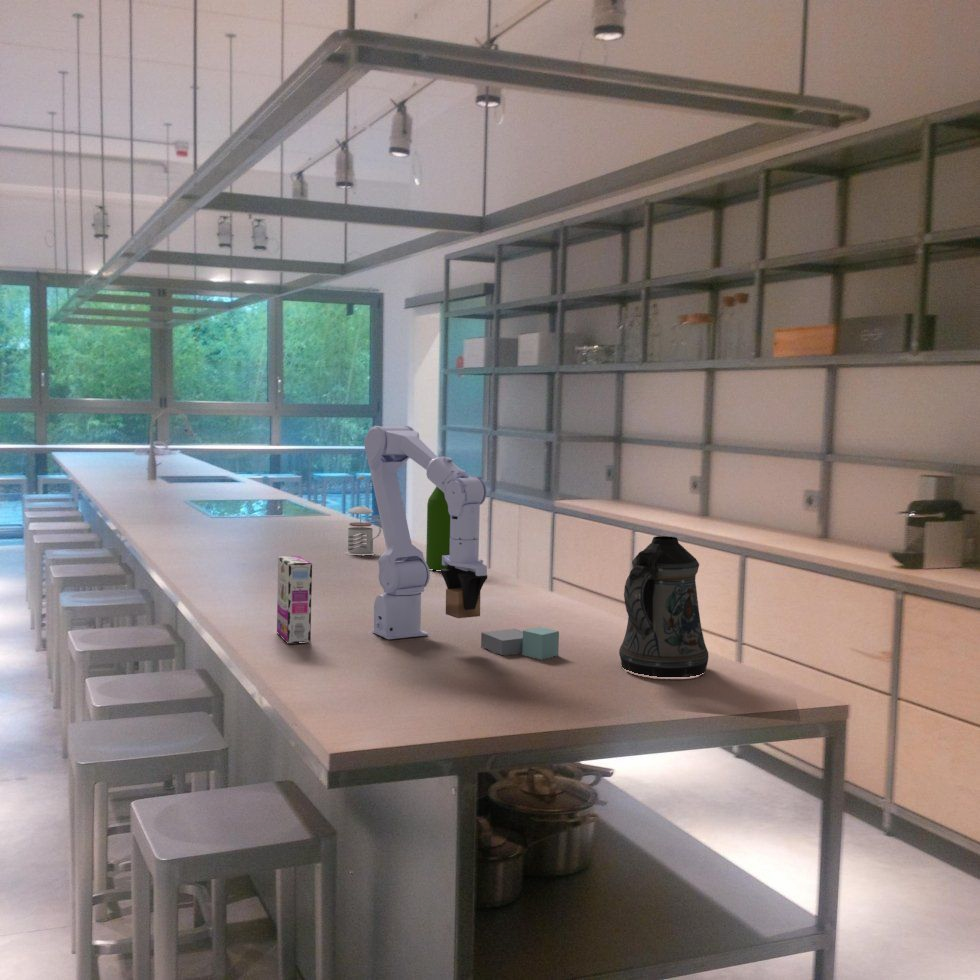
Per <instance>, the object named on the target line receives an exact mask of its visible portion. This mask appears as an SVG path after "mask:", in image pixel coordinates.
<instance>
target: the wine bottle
mask: <svg viewBox="0 0 980 980" xmlns="http://www.w3.org/2000/svg"><path fill="white" fill-rule="evenodd" d="M426 508H427V509H426V549H425V550H426V553H425V554H426V557H425V558H426V560H425V562H426V563H427V565H428V567H429V569H433V570H441V569H446V567H447V566H444V565H442V556H445V555H450V516H451V515H449V512H448V504H447V502H446V499H445V495H444V492H443V491H442V490H440V489H439V488H438V487H437V486H436V485H435V488H434V489H433V491H432V492H431V495H429V497H428V501H427V503H426Z"/></svg>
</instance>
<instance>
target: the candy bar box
mask: <svg viewBox="0 0 980 980" xmlns="http://www.w3.org/2000/svg"><path fill="white" fill-rule="evenodd" d="M312 587H313V563H312V562H311V561H309V560H308V559H305V558H303V557H302V556H301V555H299V556H298V555H289V556H288V555H284V556H278V557H277V601H276V603H277V606H276V609H277V610H276V633H277V632H278V633H279V634H280V635H281V636H282V637H283V638H284V639H285V640H286V641H287V642H288V643H299V642H310V643H311V639H312V638H311V635H312V633H311V628H312V593H313V591H312V590H313V588H312Z"/></svg>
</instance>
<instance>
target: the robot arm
mask: <svg viewBox="0 0 980 980" xmlns="http://www.w3.org/2000/svg"><path fill="white" fill-rule="evenodd" d="M363 445H364V451H365V454H366V459H367V465H368V467H369V471H370V472H369V473H370V476H371V477H370V478H371V480H372V481H371V482H372V487H373V491H374V495H375V500H376V505H377V510H378V514H379V520H380V522H381V524H380V525H382V528H381V530H382V532H383V533H382V534H383V538H384V542H385V547H386V550H385V551H384V552H382V555H381V556H380V557H379V558H378V560H377V563H378V567H379V568H378V582H379V585H380V587H381V588H382V590H383V592H384V593H383V594H379V595H377V596H376V597H375V598H374V599H375V600H374V603H373V604H374V606H373V608H374V609H373V629H372V632H371V633H374V634H375V635H378V636H380V637H382V638H384V639H386V640H396V639H398V640H399V639H405V638H415V637H423V636H424V637H425V636H429V633H428V631H424V630H421V627H422V626H421V625H422V624H421V623H422V621H421V619H422V617H421V615H422V593H424V592H425V588H426V587H427V586H428V584H429V582H430V580H431V579H430V578H431V571H430V570H429V567H428V565H427V563H426V560H425V557H424V553H423V551H422V550H421V549H419V548H418V547H416V546H415V545H414V544H413V543H412V539H411V538H412V537H411V533H410V529H409V525H408V520H407V516H406V510H405V507H404V503H403V498H402V492H401V489H400V483H399V479H398V472H399V470H400V469H401V468H403V467H404V465H406V464H407V462H408V461H409V459H411V460H412V461H414V462H415V463H416V464H417V465H419V466H421V468H423V469H424V470H425V471H426V478H427V479H428V480H429V481H430V482H431V483H433V484H434V486H435V487H436V486H437V487H438V488H439V489H440V490H442V491H443V492H444V495H445V499H446V502H447V504H448V512H449V515H451V516H450V555H445V556H442V565H444V566H447V567H446V569H441V571H440V574H441V576H442V578H443V580H444V582H445V586H446V589H455V588H462V591H463V604H464V609H465V610H471V609H475V607H476V604H477V600H478V597H479V593H480V594H481V590H482V588H483V586H484V585H485V582H486V580H487V579H488V574H487V573H488V565H486V564H484V559H482V558H479V557H480V555H479V549H480V548H479V547H480V544H479V543H480V519H481V518H480V517H481V516H480V515H481V514H480V513H481V512H480V510H481V508H480V507H481V505H483V503H484V502H485V501H486V498H487V486H486V484H485V481H484V480H483V479H482V478H481V477H480V476H477V475H475V476H471V475H468V474H467V471H465V470H464V469H461V468H460V466H458V465H456V463H454V462H453V461H454V460H453V458H452V457H450V456H437V454H435V452H434V451H432V450H431V448H429V447H428V446H427V445H426V443H424V442H423V440H422V439H420V433H419V432H418V431H416V430H415V429H414V428H413V427H412V426H409V425H404V426H379V425H373V426H371V427H370V428H369V429H368V431H367V433H366V436H365V438H364V441H363Z"/></svg>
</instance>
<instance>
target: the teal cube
mask: <svg viewBox="0 0 980 980" xmlns="http://www.w3.org/2000/svg"><path fill="white" fill-rule="evenodd" d="M522 632H523V648H522V653H521V655H522V656H523V655H526V656H525V657H527V656H529V657H528V658H531V657H533V659H535V658H538V659H537V660H539V659H544V660H546V659H545V658H548V659H550V658H549V657H552V658H554V657H553V656H556V657H558V656H559V646H560V645H559V644H560V643H559V642H560V632H559V631H558V630H555V629H551V628H545V627H541V626H538V627H533V628H529V629H524V630H523V631H522ZM557 655H558V656H557Z"/></svg>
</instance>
